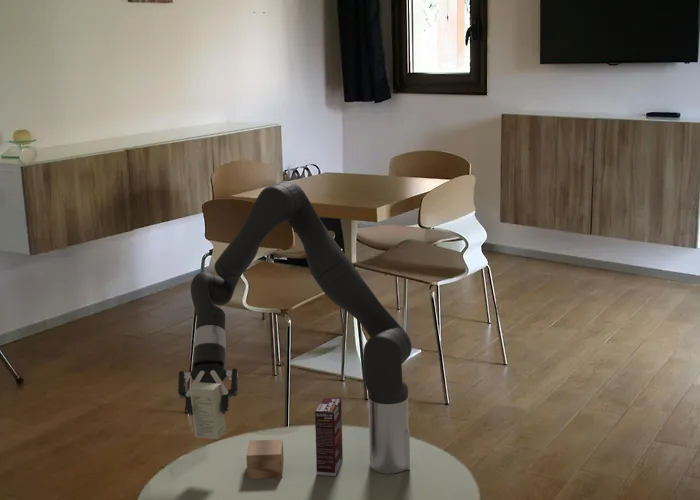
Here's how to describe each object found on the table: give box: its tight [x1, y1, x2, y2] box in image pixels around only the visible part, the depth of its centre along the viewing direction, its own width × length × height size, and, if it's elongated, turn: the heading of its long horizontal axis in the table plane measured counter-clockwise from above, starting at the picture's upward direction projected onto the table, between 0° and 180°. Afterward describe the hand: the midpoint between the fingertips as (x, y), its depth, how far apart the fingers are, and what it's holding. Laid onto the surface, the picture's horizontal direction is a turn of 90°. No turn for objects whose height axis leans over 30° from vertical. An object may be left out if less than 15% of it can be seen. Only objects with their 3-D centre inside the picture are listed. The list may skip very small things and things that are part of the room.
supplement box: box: [314, 397, 344, 477], centre depth 205 cm, size 9×5×16 cm, turn 168°
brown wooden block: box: [246, 438, 285, 480], centre depth 206 cm, size 8×8×6 cm
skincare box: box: [189, 382, 227, 440], centre depth 203 cm, size 6×4×12 cm
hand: (207, 413), depth 201 cm, fingers closed on skincare box, 7 cm apart
